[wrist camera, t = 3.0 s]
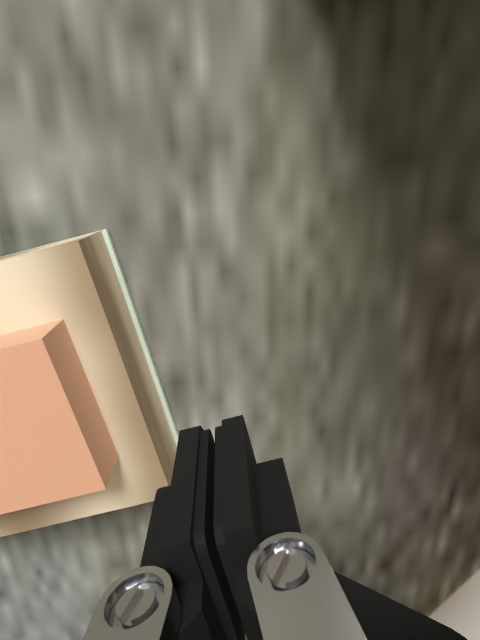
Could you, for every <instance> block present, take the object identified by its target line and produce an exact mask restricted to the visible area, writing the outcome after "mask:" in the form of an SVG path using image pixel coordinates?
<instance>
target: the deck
mask: <svg viewBox="0 0 480 640" xmlns="http://www.w3.org/2000/svg"><path fill="white" fill-rule="evenodd" d="M62 319H64V322H65V324H66V327H67V329H68V332H69V334H70V337H71V339H72V342H73V344H74V347H75V349H76V351H77V354H78V356H79V359H80V361H81V364H82V366H83V369H84V371H85V374H86V376H87V379H88V381H89V384H90V386H91V389H92V391H93V394H94V396H95V399H96V401H97V404H98V406H99V409H100V411H101V413H102V416H103V418H104V421H105V423H106V426H107V428H108V431H109V433H110V436H111V438H112V441H113V443H114V446H115V448H116V451H117V453H118V459H117V461H116V464H115V467H114V469H113V472H112V475H111V477H110V480H109V483H108V486H107V488H106V490H102V491H98V492H93V493H89V494H85V495H81V496H77V497H72V498H68V499H64V500H60V501H56V502H51V503H47V504H43V505H39V506H35V507H30V508H26V509H22V510H18V511H14V512H9V513H5V514H1V515H0V537H3V536H7V535H12V534H16V533H20V532H24V531H29V530H33V529H37V528H41V527H46V526H50V525H54V524H58V523H63V522H67V521H71V520H75V519H80V518H84V517H88V516H92V515H97V514H101V513H105V512H109V511H114V510H118V509H122V508H126V507H131V506H135V505H139V504H143V503H148V502H152V501H154V499H155V494H156V491H157V489H159V488H161V487H165V486H169V485H171V480H172V474H173V468H174V462H175V456H176V450H177V445H176V442H175V440H174V437H173V434H172V431H171V428H170V425H169V422H168V420H167V417H166V414H165V411H164V408H163V405H162V402H161V400H160V397H159V394H158V391H157V388H156V385H155V382H154V380H153V377H152V374H151V371H150V368H149V365H148V363H147V360H146V357H145V354H144V351H143V348H142V345H141V343H140V340H139V337H138V334H137V331H136V328H135V325H134V323H133V320H132V317H131V314H130V311H129V308H128V305H127V303H126V300H125V297H124V294H123V291H122V288H121V285H120V283H119V280H118V277H117V274H116V271H115V268H114V265H113V263H112V260H111V257H110V254H109V251H108V248H107V245H106V243H105V240H104V237H103V234H102V231H98V232H94V233H90V234H86V235H82V236H79V237H75V238H71V239H67V240H64V241H60V242H56V243H52V244H49V245H45V246H41V247H37V248H33V249H30V250H26V251H22V252H18V253H15V254H11V255H7V256H3V257H0V335H3V334H7V333H11V332H15V331H19V330H23V329H27V328H30V327H34V326H38V325H42V324H46V323H50V322H54V321H58V320H62Z"/></svg>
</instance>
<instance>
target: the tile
mask: <svg viewBox="0 0 480 640" xmlns="http://www.w3.org/2000/svg"><path fill="white" fill-rule="evenodd" d="M117 459H118V453H117V451H116V448H115V446H114V443H113V441H112V438H111V436H110V433H109V431H108V428H107V426H106V423H105V421H104V418H103V416H102V413H101V411H100V409H99V406H98V404H97V401H96V399H95V396H94V394H93V391H92V389H91V386H90V384H89V381H88V379H87V376H86V374H85V371H84V369H83V366H82V364H81V361H80V359H79V356H78V354H77V351H76V349H75V347H74V344H73V342H72V339H71V337H70V334H69V332H68V329H67V327H66V324H65V322H64V319H62V320H58V321H54V322H50V323H46V324H42V325H38V326H34V327H30V328H27V329H23V330H19V331H15V332H11V333H7V334H3V335H0V515H1V514H5V513H9V512H14V511H18V510H22V509H26V508H30V507H35V506H39V505H43V504H47V503H51V502H56V501H60V500H64V499H68V498H72V497H77V496H81V495H85V494H89V493H93V492H98V491H102V490H106V488H107V486H108V483H109V480H110V477H111V475H112V472H113V469H114V467H115V464H116V461H117Z"/></svg>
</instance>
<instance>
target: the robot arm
mask: <svg viewBox="0 0 480 640" xmlns="http://www.w3.org/2000/svg"><path fill="white" fill-rule="evenodd" d="M245 633H246V636H247V639H248V640H467V639H466V638H465V637H463V636H462V635H460V634H459V633H457V632H456V631H454V630H453V629H451V628H449V627H447V626H445V625H443V624H441V623H439V622H437V621H435V620H433V619H431V618H429V617H427V616H425V615H422V614H420V613H418V612H416V611H414V610H412V609H410V608H408V607H406V606H404V605H402V604H400V603H398V602H396V601H394V600H392V599H390V598H388V597H386V596H384V595H382V594H379V593H377V592H375V591H373V590H371V589H369V588H367V587H365V586H363V585H361V584H359V583H357V582H355V581H353V580H351V579H349V578H347V577H345V576H343V575H341V574H339V573H336V572H334V571H333V569H332V567H331V565H330V563H329V561H328V559H327V557H326V555H325V553H324V551H323V549H322V548H321V546H320V545H319V544H318V542H317V541H316V540H314V539H313V538H311V537H310V536H308V535H305V534H302V533H301V529H300V525H299V521H298V517H297V513H296V509H295V504H294V501H293V497H292V493H291V489H290V485H289V481H288V477H287V473H286V470H285V466H284V462H283V458H278V459H274V460H270V461H266V462H262V463H258V464H257V463H256V460H255V456H254V453H253V449H252V446H251V442H250V439H249V435H248V432H247V428H246V424H245V421H244V418H243V416H242V415H240V416H236V417H232V418H228V419H224V420H222V426H219V427H216V428H215V442H214V439H213V436H212V433H211V431H210V429H207V430H203V428H202V427H201V426H197V427H193V428H189V429H185V430H181V431H180V432H179V437H178V443H177V450H176V456H175V462H174V468H173V474H172V480H171V485H169V486H165V487H161V488H159V489H157V491H156V494H155V499H154V504H153V509H152V513H151V518H150V523H149V528H148V532H147V537H146V542H145V547H144V551H143V556H142V561H141V566H140V568H136V569H133V570H131V571H129V572H127V573H125V574H124V575H122V576H121V577H120V578H118V579H117V580H116V581H114V582H113V583H112V585H111V586H110V587H109V588H108V589H107V590H106V591H105V593H104V594H103V596H102V598H101V599H100V601H99V603H98V605H97V607H96V610H95V612H94V614H93V617H92V619H91V621H90V623H89V626H88V628H87V630H86V633H85V635H84V637H83V639H82V640H245Z"/></svg>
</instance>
